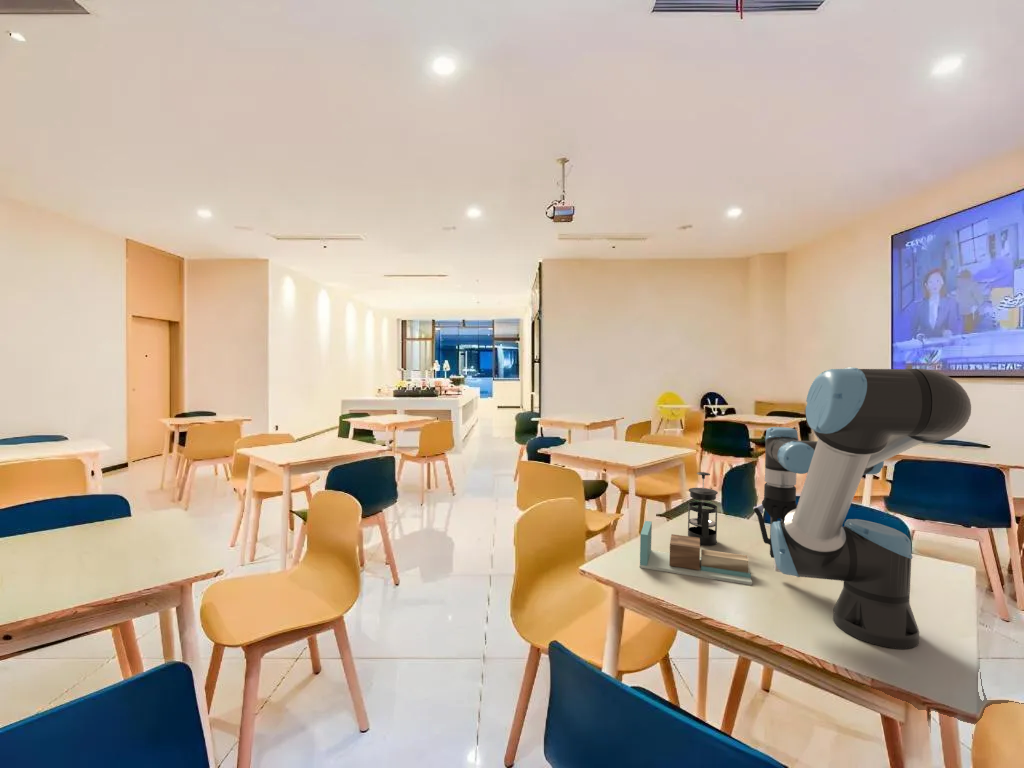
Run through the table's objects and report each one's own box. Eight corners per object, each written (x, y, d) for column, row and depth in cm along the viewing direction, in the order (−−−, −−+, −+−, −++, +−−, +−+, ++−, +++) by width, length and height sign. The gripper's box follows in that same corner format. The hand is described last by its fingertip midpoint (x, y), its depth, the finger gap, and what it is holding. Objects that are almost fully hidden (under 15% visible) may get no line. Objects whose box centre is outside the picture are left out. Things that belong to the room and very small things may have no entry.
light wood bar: (748, 575, 131) (748, 560, 131) (701, 568, 136) (701, 554, 135) (746, 569, 135) (747, 555, 135) (701, 562, 139) (701, 549, 139)
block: (699, 570, 133) (699, 548, 133) (669, 565, 136) (669, 544, 136) (699, 558, 142) (699, 537, 142) (671, 554, 145) (671, 534, 144)
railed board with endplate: (751, 585, 127) (752, 548, 127) (639, 567, 137) (640, 534, 137) (747, 566, 139) (747, 533, 139) (644, 551, 149) (645, 520, 149)
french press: (685, 534, 166) (686, 468, 165) (713, 536, 164) (715, 470, 163) (689, 546, 154) (691, 476, 154) (720, 549, 152) (722, 477, 152)
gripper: (804, 483, 131) (802, 568, 131) (751, 479, 135) (749, 560, 136) (810, 489, 124) (808, 579, 124) (754, 485, 128) (752, 571, 129)
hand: (777, 569), depth 130 cm, fingers closed
